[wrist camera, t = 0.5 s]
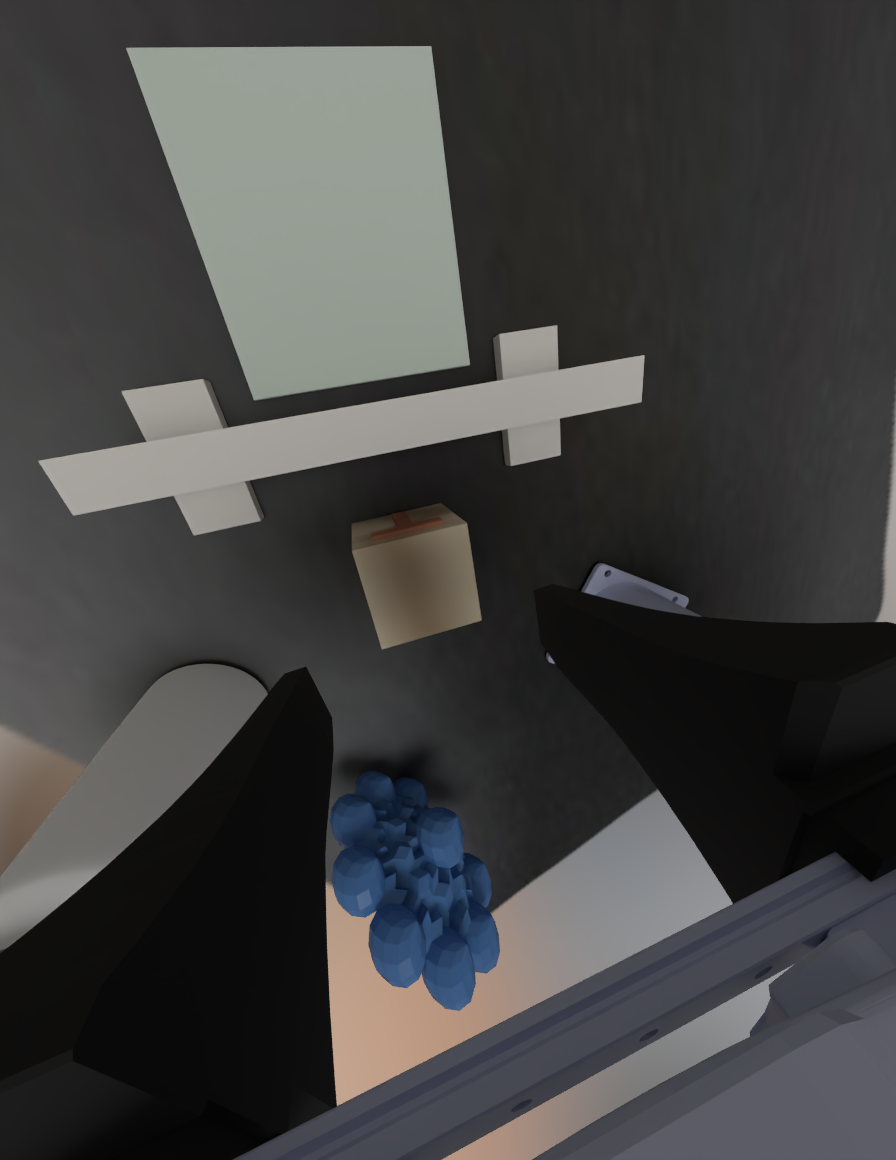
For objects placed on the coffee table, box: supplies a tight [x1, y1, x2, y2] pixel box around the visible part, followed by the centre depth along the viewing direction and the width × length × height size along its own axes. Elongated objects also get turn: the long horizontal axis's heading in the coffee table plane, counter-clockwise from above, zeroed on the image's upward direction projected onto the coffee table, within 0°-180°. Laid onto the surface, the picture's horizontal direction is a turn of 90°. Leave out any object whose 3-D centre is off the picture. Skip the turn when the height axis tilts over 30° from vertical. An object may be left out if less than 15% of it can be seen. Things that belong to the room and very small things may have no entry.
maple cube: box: [352, 503, 482, 649], centre depth 18 cm, size 5×5×5 cm
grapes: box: [330, 771, 500, 1011], centre depth 21 cm, size 12×7×12 cm, turn 52°
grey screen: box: [38, 326, 644, 535], centre depth 15 cm, size 20×6×6 cm, turn 100°
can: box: [0, 664, 268, 953], centre depth 15 cm, size 6×6×12 cm
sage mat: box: [126, 46, 470, 401], centre depth 14 cm, size 10×10×1 cm
